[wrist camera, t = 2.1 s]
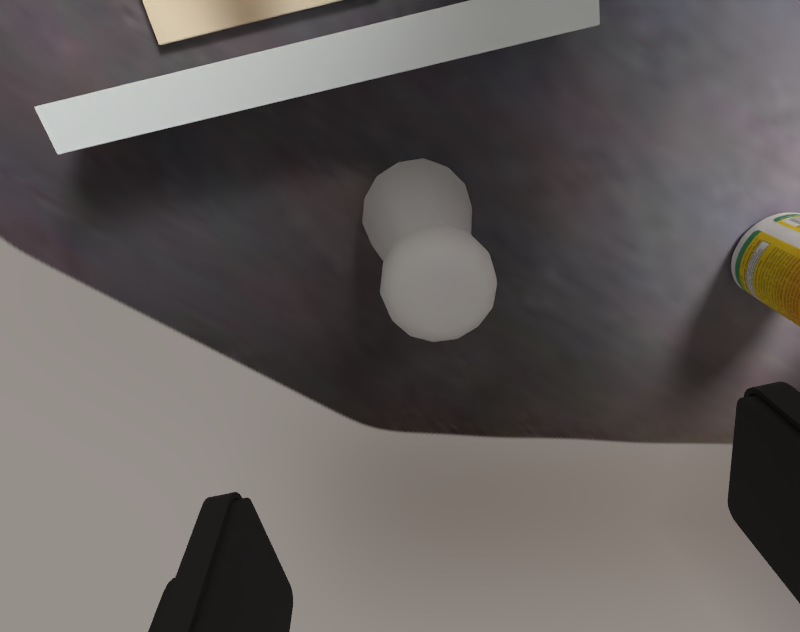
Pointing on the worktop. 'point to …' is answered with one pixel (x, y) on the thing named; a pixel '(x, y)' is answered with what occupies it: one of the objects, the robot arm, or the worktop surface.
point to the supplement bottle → (771, 263)
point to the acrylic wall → (308, 68)
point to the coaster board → (215, 15)
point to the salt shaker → (428, 251)
